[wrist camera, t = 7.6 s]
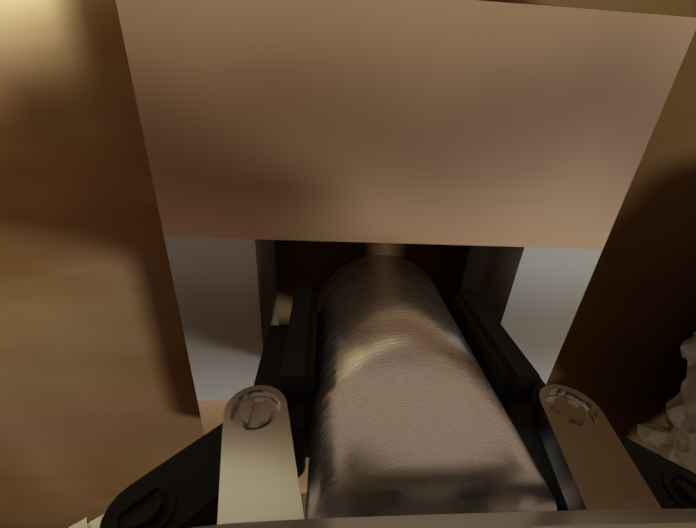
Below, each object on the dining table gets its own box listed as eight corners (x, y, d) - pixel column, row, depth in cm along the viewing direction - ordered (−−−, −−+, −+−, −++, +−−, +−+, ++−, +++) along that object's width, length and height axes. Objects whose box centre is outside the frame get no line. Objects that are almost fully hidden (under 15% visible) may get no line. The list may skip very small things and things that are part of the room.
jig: (472, 423, 19) (501, 488, 16) (236, 425, 18) (216, 495, 15) (592, 41, 11) (700, 17, 8) (179, 11, 10) (109, -30, 7)
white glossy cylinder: (427, 357, 13) (516, 590, 7) (316, 357, 13) (305, 599, 7) (447, 256, 11) (596, 454, 5) (317, 253, 11) (303, 460, 5)
